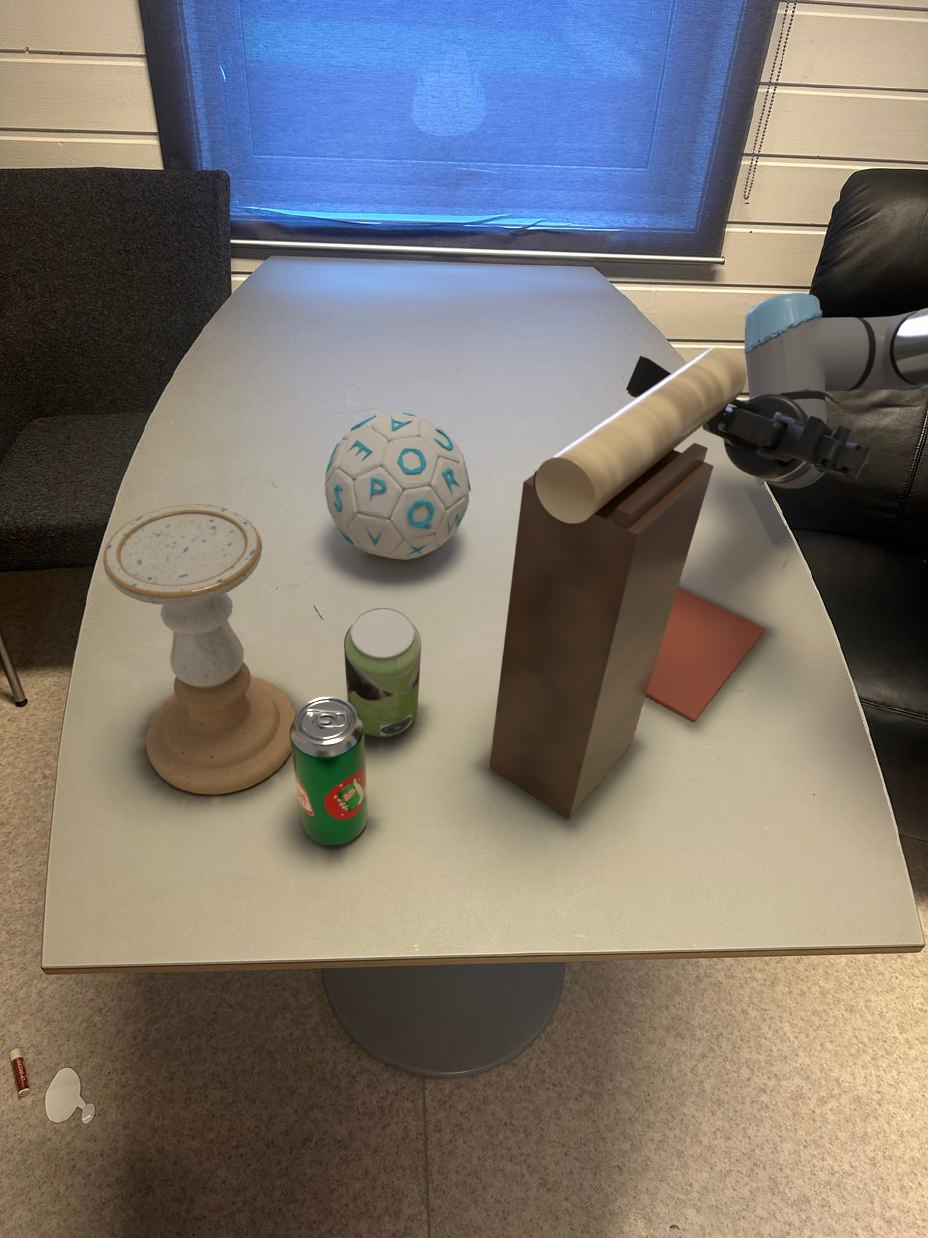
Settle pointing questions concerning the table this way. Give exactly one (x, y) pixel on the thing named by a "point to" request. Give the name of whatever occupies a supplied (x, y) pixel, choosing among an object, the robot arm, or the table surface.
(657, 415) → the wooden dowel rod
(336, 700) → the soda can
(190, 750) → the candle holder
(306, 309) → the table surface
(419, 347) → the table surface
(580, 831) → the table surface
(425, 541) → the puzzle ball
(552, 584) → the stand
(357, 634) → the beverage can
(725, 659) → the mat
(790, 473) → the robot arm
